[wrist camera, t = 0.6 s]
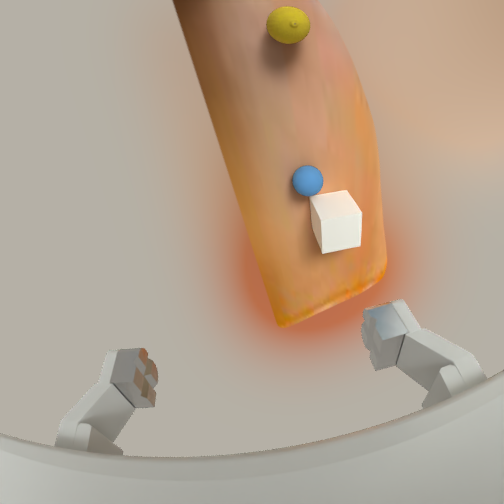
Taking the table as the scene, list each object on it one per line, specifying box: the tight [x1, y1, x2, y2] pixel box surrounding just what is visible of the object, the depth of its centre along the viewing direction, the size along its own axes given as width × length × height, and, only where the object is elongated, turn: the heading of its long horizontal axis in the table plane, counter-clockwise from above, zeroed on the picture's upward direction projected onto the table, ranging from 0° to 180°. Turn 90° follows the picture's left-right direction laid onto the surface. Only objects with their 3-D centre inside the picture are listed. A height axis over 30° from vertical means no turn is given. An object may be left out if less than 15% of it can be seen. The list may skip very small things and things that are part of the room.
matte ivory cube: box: [309, 190, 362, 254], centre depth 52 cm, size 7×7×8 cm
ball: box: [292, 166, 323, 196], centre depth 48 cm, size 5×5×5 cm
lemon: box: [266, 6, 310, 44], centre depth 31 cm, size 6×6×8 cm
